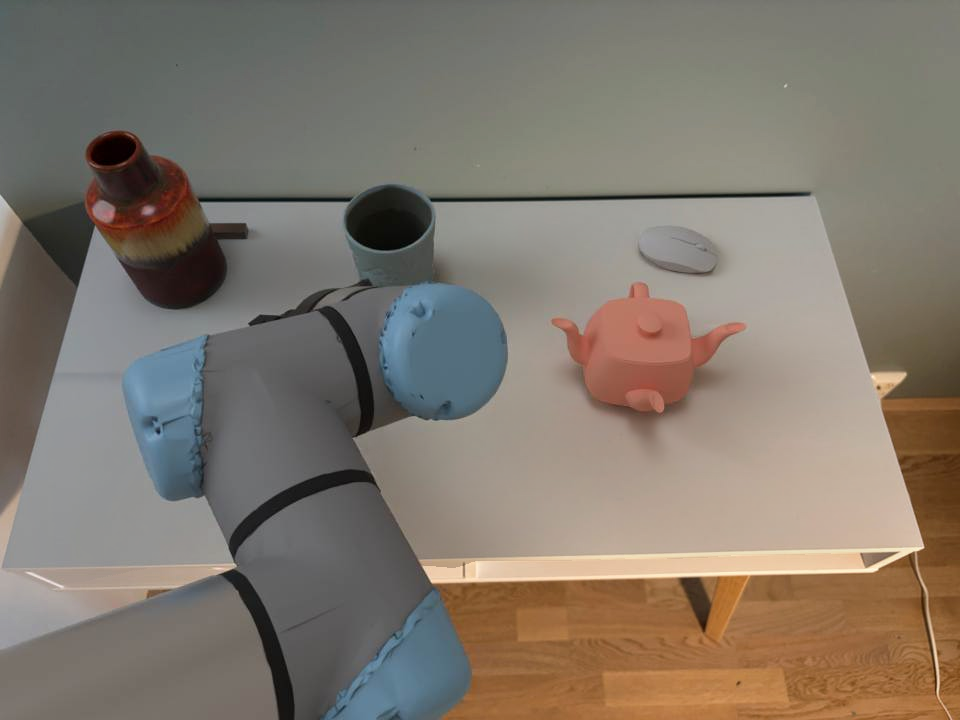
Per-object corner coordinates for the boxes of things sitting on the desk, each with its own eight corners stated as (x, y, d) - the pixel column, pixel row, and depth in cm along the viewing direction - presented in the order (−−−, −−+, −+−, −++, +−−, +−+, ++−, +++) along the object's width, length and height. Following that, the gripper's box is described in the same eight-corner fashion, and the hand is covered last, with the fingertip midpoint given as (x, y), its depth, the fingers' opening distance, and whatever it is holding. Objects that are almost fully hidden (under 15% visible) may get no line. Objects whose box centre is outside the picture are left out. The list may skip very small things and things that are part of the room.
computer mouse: (713, 280, 90) (720, 265, 88) (633, 265, 91) (638, 250, 89) (716, 243, 93) (723, 228, 91) (638, 230, 94) (643, 214, 92)
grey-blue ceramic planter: (363, 323, 87) (349, 260, 76) (351, 257, 92) (335, 189, 81) (447, 307, 88) (444, 243, 78) (430, 243, 93) (425, 174, 82)
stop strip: (248, 228, 94) (245, 222, 93) (246, 238, 93) (244, 232, 92) (138, 229, 93) (134, 223, 92) (135, 239, 93) (131, 233, 92)
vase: (138, 245, 92) (60, 118, 74) (226, 233, 93) (169, 104, 76) (136, 316, 87) (51, 196, 69) (228, 301, 88) (168, 180, 70)
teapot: (718, 374, 84) (750, 322, 74) (638, 455, 79) (662, 410, 69) (621, 299, 89) (639, 241, 79) (540, 370, 84) (549, 317, 74)
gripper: (312, 440, 51) (231, 401, 71) (445, 327, 56) (335, 321, 76) (245, 355, 48) (181, 340, 68) (391, 244, 53) (291, 260, 73)
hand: (262, 330), depth 72 cm, fingers closed
